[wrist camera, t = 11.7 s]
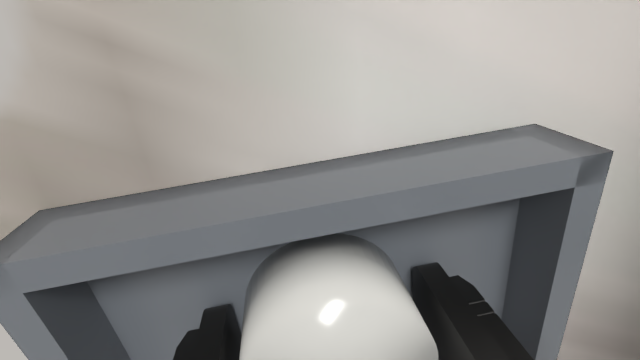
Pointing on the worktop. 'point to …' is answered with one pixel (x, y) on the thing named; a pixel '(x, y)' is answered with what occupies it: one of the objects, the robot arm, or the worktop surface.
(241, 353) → the white pebble
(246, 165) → the worktop surface
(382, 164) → the tray
